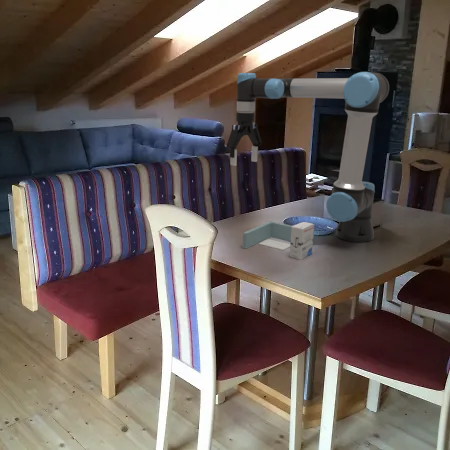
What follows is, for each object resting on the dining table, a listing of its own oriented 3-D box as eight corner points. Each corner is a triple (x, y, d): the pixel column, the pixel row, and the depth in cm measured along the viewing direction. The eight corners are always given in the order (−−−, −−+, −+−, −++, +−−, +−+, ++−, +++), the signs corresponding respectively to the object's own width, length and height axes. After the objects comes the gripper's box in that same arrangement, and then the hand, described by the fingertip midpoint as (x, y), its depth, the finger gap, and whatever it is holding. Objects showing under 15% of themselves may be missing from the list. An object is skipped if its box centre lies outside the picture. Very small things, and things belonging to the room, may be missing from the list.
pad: (292, 245, 195) (292, 244, 195) (283, 250, 190) (283, 249, 190) (268, 239, 201) (268, 239, 201) (258, 244, 196) (258, 243, 196)
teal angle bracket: (313, 245, 196) (314, 230, 194) (288, 259, 180) (289, 243, 179) (269, 235, 207) (270, 221, 205) (242, 247, 191) (243, 232, 189)
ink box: (301, 250, 190) (303, 220, 186) (312, 253, 187) (315, 223, 183) (288, 256, 183) (290, 225, 180) (300, 260, 180) (302, 228, 177)
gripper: (257, 110, 219) (255, 158, 225) (218, 112, 201) (217, 165, 207) (271, 111, 214) (269, 161, 220) (232, 114, 196) (231, 168, 202)
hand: (244, 163), depth 214 cm, fingers open, 13 cm apart
